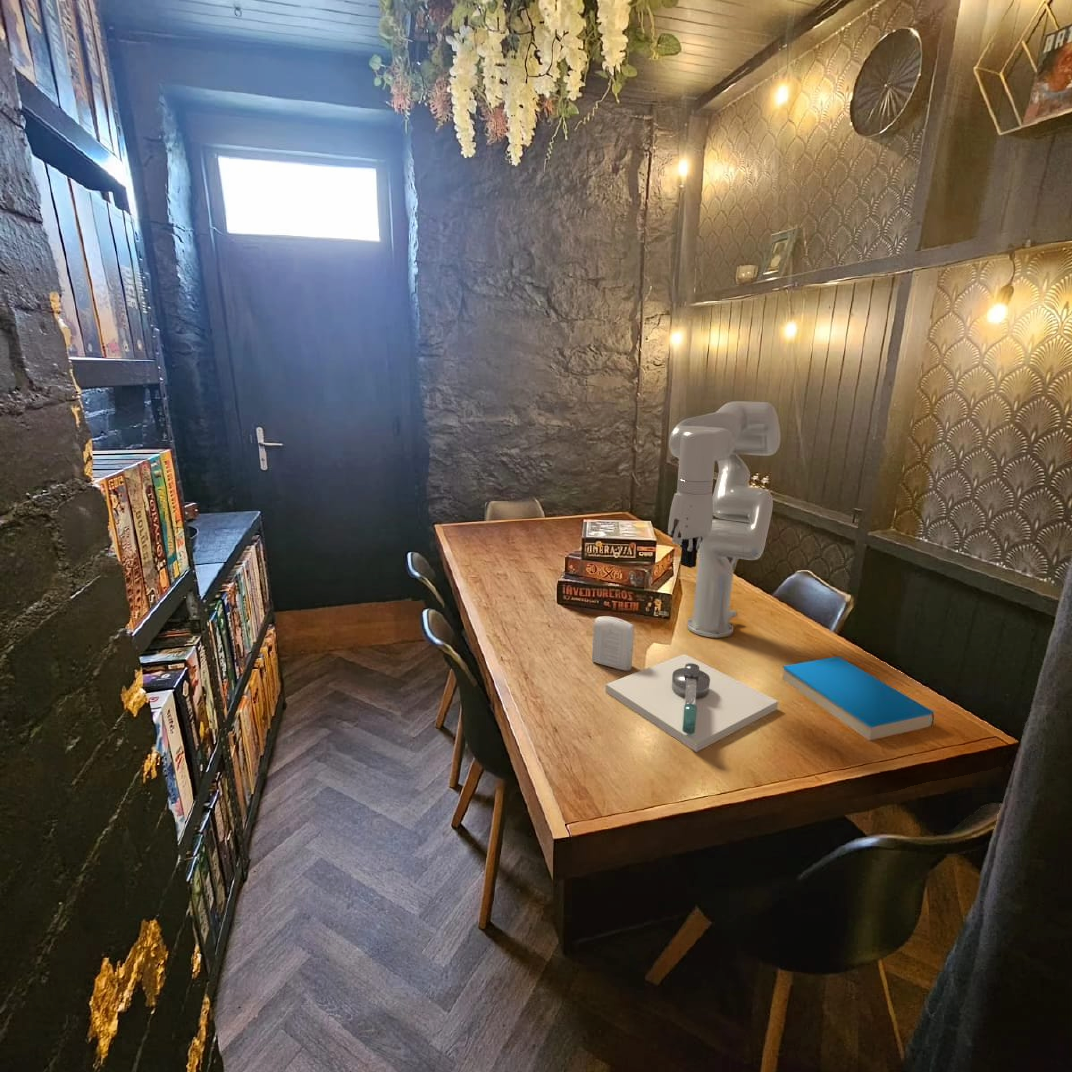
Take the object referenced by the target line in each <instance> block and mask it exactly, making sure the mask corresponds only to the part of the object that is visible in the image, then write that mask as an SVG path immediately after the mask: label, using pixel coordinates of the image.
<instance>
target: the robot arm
mask: <svg viewBox="0 0 1072 1072" xmlns="http://www.w3.org/2000/svg"><path fill="white" fill-rule="evenodd" d="M781 437H782V436H781V430H780V423H779V417H778V414H777V410H776V409H775V406H773V405H772V404H771V403H770V402H768V401H767V402H766V401H746V400H745V401H744V400H742V401H739V400H738V401H737V400H735V401H730V402H727V403H725V404H724V405H723V406H721V407H720V408H719V409H718V410H716V411H715V412H712V413H706V414H702V415H698V416H693V417H690V418H685V419H683V420H682V421H680V422H679V423H678V424H676V425H675V426H674V428H673V429H672V431H671V433H670V436H669V439H668V448H669V452H670V453H671V455H672V456H673V457H674V458H678V470H677V472H678V473H677V483H676V484H677V486H676V493H674V494H673V498H672V501H671V506H670V510H669V518H668V525H667V534H668V536H670V537H671V536H672V540H671V543H672V544H674V545H677V546H679V548H680V549H681V555H680V565H681V566H683V567H686V568H689V569H692V568H695V567H697V569H696V580H695V592H694V601H693V602H694V605H693V614H692V617H691V618H689V619H687V622H686V627H687V629H688V630H689V631H691V632H692V633H694V634H695V635H698V636H701V637H706V638H715V639H716V638H726V637H729V636H730V635H732V634H733V632H734V625H732V623H731V622H730V620H731V619H733V618H736V617H738V611H737V610H736V609H732V610H730V607H731V606H730V605H731V598H732V589H733V578H734V570H733V566H732V564H731V562H730V560H729V559H728V558H732V559H733V558H734V559H740V560H746V561H747V560H748V561H755V560H759V559H760V558H761V556H762V555H763V552H764V551H765V546H766V542H767V541H766V540H767V537H768V532H769V528H770V523H771V520H772V519H771V518H772V516H773V515H772V513H773V506H774V501H773V499H774V498H773V495H772V494H771V493H770V491H769V490H767V489H765V488H758V487H750V486H749V483H750V478H751V472H750V469H749V467H748V466H747V465H746V463H745V462H744V461H743V459H742V458H741V457H740V456H739V455H747V456H748V455H750V456H767V457H768V456H772V455H775V454H776V453H777V451H778V450H779V448H780V444H781ZM715 462H717V465H718V474H717V478H716V483H715V485H714V474H715ZM713 485H714V490H713ZM713 517H715V518H718V519H715V518H713Z"/></svg>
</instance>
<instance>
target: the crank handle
mask: <svg viewBox="0 0 1072 1072" xmlns="http://www.w3.org/2000/svg"><path fill="white" fill-rule="evenodd" d="M709 685H710V677H709V676H708V675H707V674H706V673H705V672H703V671H701V670H699V666H698V665H696V664H693V663H688V664H686V665H685V668H680V669H677V670H675V671H674V672H673V675H672V690H673V691H674V692H675V693H676V694H678V695H680V696H682V697H685V706H684V715H683V726H682V730H683V731H684V732H685V733H688V734H693V733H694V732H695V726H696V716H697V707H696V699H699V698H703V697H705V696H707V695H708V693H709Z"/></svg>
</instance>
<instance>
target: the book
mask: <svg viewBox="0 0 1072 1072" xmlns="http://www.w3.org/2000/svg"><path fill="white" fill-rule="evenodd" d="M782 669H783V672H782V673H783V674H782V680H783V681H784V682H786V683H787V684H788V685H790V686H791V687H793V688H794V689H795V690H797V691H799V692H800V693H801V694H803V695H804V696H805V697H807V698H808V699H809V700H811V701H813V702H814V703H815V704H817V705H818V706H820V707H821V708H823V709H824V710H825V711H827V712H828V713H830V714H831V715H833V716H834V717H835V718H836V719H838V720H839V721H841V722H842V723H844V724H845V725H847V726H848V727H849V728H851V729H852V730H854V731H855V732H857V734H859V735H861V736H862V737H864V738H865V739H867V740H868V741H872V740H873V741H874V740H877V739H880V738H887V737H890V736H895V735H899V734H904V733H908V732H912V731H917V730H920V729H921V730H922V729H925V728H928V727H929V728H930V727H931V726H932V725H933V723H934V719H935V718H934V717H935V716H934V711H933V710H931V709H929V708H928V707H926V706H924V705H923V704H920V703H919V702H918V701H916V700H914V699H913V698H911V697H909V696H907V695H906V694H904V693H902V692H900V691H898V690H896V689H895V688H894V687H892V686H890V685H888V684H886V682H885V683H884V682H883V681H882V680H880V679H877V677H874V676H873V675H871V674H869V673H868V672H866V671H864V670H862V669H861V668H859V667H857V666H855V665H853V664H852V663H850V662H849V661H847V660H845V659H843V658H841V657H839V656H835V657H829V658H823V659H817V660H811V661H805V662H800V663H795V664H794V663H793V664H787V665H783V666H782Z"/></svg>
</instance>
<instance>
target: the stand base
mask: <svg viewBox="0 0 1072 1072" xmlns="http://www.w3.org/2000/svg"><path fill="white" fill-rule="evenodd" d="M688 663H693V664H696V665H698V666H699V670H701V671H703V672H705V673H706V674H707V675H708V676H709V677H710V685H709V693H708V695H707V696H705V697H703V698H699V699H696V707H697V716H696V726H695V732H694V733H693V734H688V733H685V732H684V731H683V730H682V726H683V715H684V706H685V697H682V696H680V695H678V694H676V693H675V692H674V691H673V690H672V675H673V672H674V671H675V670H677V669H680V668H685V665H686V664H688ZM605 693H606V694H608V695H609V696H611V697H613V698H614V699H615V700H617V701H618V702H620V703H621V704H623V705H624V706H626V707H628V708H629V709H630V710H632V711H634V712H635V713H636V712H637V714H638V715H639V716H641V717H642V718H644V719H646V720H647V721H649V722H650V723H652V724H653V725H655V726H656V727H658V728H659V729H660V730H662V731H664V732H665V733H667V735H669V736H671V737H673V738H674V739H676V740H677V741H679V742H680V743H682V744H683V745H685V746H686V747H688V748H689V749H691V750H692V751H694V752H695V753H698V752H700V751H701V750H703V749H705V748H707V747H709V746H710V745H713V744H714V743H716V742H719V741H720V740H722V739H724V738H725V737H728V736H730V735H731V734H733V733H735V732H738V731H739V730H741V729H742V728H744V727H746V726H748V725H751V724H752V723H754V722H756V721H758V720H759V719H762V718H763V717H765V716H767V715H769V714H771V713H773V712H774V711H776V710H778V704H779V700H777V699H775V698H774V697H770V696H769V695H766V694H764V693H762V692H760V691H759V690H757V689H755V688H753V687H751V686H749V685H747V684H745V683H743V682H741V681H738V680H737V679H735V678H733V677H731V676H729V675H727V674H725V673H723V672H721V671H719V670H717V669H715V668H713V667H711V666H709V665H707V664H705V663H703V662H701V661H699V660H698V659H695V658H693V657H692V656H690V655H687V654H685V653H683V654H681V655H678V656H675V657H673V658H670V659H668V660H666V661H663V662H660V663H657V664H655V665H652V666H648V668H644V669H642V670H639V671H637V672H633V673H632V674H628V675H626V676H624V677H621V678H619V679H616V680H614V681H613V680H612V681H611V682H608V683H606V684H605Z"/></svg>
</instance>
